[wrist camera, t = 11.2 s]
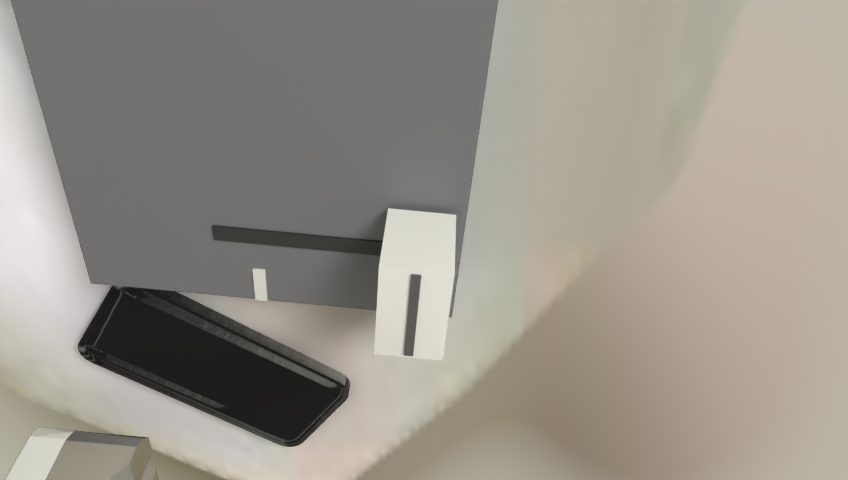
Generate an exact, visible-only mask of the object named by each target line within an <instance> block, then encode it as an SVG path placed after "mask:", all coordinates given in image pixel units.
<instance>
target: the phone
mask: <svg viewBox="0 0 848 480" xmlns="http://www.w3.org/2000/svg"><path fill="white" fill-rule="evenodd" d="M78 349H79V352H80V354H81V355H82V356H83V357H84V358H85V359H87V360H88V361H90V362H92V363H94V364H97V365H99V366H101V367H104V368H106V369H108V370H110V371H113V372H115V373H117V374H120V375H122V376H124V377H126V378H129V379H131V380H133V381H135V382H138V383H140V384H142V385H145V386H147V387H149V388H151V389H154V390H156V391H158V392H161V393H163V394H165V395H167V396H170V397H172V398H174V399H177V400H179V401H181V402H183V403H186V404H188V405H190V406H192V407H195V408H197V409H199V410H202V411H204V412H206V413H208V414H211V415H213V416H215V417H217V418H220V419H222V420H224V421H227V422H229V423H231V424H233V425H236V426H238V427H240V428H243V429H245V430H247V431H249V432H252V433H254V434H256V435H258V436H261V437H263V438H265V439H268V440H270V441H272V442H274V443H277V444H279V445H282V446H287V447H293V446H298V445H300V444H301V443H303V442H304V441H305V440H306V439H307V438H308V437H309V436H310V435H311V434H312V433H313V432H314V431H315V430H316V429H317V428H318V427H319V426H320V425H321V424H322V423H323V422H324V421H325V420H326V419H327V418H328V417H329V416H330V415H331V414H332V413H333V412H334V411H335V410H336V409H337V408H338V407H339V406H341V405H342V404H343V403H344V402H345V401H346V399H347V398H348V394H349V388H350V382H349V380H348V378H347V377H346V376H345V375H343V374H341V373H340V372H338V371H335V370H333V369H331V368H329V367H327V366H325V365H323V364H321V363H319V362H317V361H315V360H313V359H311V358H309V357H307V356H305V355H303V354H301V353H299V352H297V351H295V350H293V349H291V348H289V347H287V346H285V345H283V344H281V343H279V342H277V341H275V340H273V339H271V338H269V337H267V336H265V335H263V334H260V333H258V332H256V331H254V330H252V329H250V328H248V327H246V326H244V325H242V324H240V323H238V322H236V321H234V320H232V319H230V318H228V317H226V316H224V315H222V314H220V313H218V312H216V311H214V310H212V309H210V308H208V307H206V306H204V305H202V304H200V303H198V302H196V301H194V300H192V299H190V298H188V297H185V296H183V295H181V294H179V293H177V292H175V291H168V290H158V289H147V288H137V287H126V286H115V285H112V287H111V289H110V291H109V292H108V294H107V296H106V297H105V299H104V301H103V303H102V304H101V306H100V308H99V309H98V311H97V313H96V315H95V316H94V318H93V320H92V322H91V323H90V325H89V327H88V328H87V330H86V332H85V334H84V335H83V337H82V339H81V340H80V342H79V345H78Z"/></svg>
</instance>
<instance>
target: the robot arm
mask: <svg viewBox="0 0 848 480" xmlns="http://www.w3.org/2000/svg"><path fill="white" fill-rule="evenodd" d="M151 453H152V448H151V445H150V441H149V438H147V437H136V436H126V435H115V434H103V433H93V432H82V431H77V430H66V429H53V428H41V427H39V428H38V429H37V430H36V431H35V432H34V433H33V434H32V435H31V436H30V437H29V438H28V439H27V441H26V443H25V445H24V447H23V448H22V450H21V452H20V453H19V455H18V457H17V459H16V460H15V462H14V464H13V466H12V468H11V469H10V471H9V473H8V475H7V476H6V478H5V480H158V474H157V469H156V468H155V467H153V466H152V465H151V464H150V463H148V461H149V458H150V456H151Z"/></svg>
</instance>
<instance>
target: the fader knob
mask: <svg viewBox="0 0 848 480" xmlns="http://www.w3.org/2000/svg"><path fill="white" fill-rule="evenodd" d="M455 245H456V215H454V214H443V213H433V212H422V211H412V210H401V209H391V208H388V212H387V218H386V225H385V231H384V237H383V244H382V250H381V256H380V262H379V272H378V291H377V309H376V328H375V347H374V354H379V355H390V356H400V357H411V358H421V359H432V360H443V353H444V346H445V339H446V332H447V325H448V318H449V311H450V304H451V297H452V290H453V283H454V276H455Z"/></svg>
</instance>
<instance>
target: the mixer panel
mask: <svg viewBox="0 0 848 480" xmlns="http://www.w3.org/2000/svg"><path fill="white" fill-rule="evenodd" d="M11 3H12V6H13V10H14V13H15V17H16V20H17V24H18V27H19V31H20V34H21V38H22V41H23V45H24V48H25V52H26V56H27V59H28V63H29V66H30V70H31V73H32V77H33V80H34V84H35V87H36V91H37V94H38V98H39V101H40V105H41V108H42V112H43V116H44V119H45V123H46V126H47V130H48V133H49V137H50V140H51V144H52V147H53V151H54V154H55V158H56V161H57V165H58V168H59V172H60V176H61V179H62V183H63V186H64V190H65V193H66V197H67V200H68V204H69V207H70V211H71V214H72V218H73V221H74V225H75V228H76V232H77V235H78V239H79V243H80V246H81V250H82V253H83V257H84V260H85V264H86V267H87V271H88V274H89V278H90V281H91V283H94V284H105V285H115V286H126V287H137V288H147V289H158V290H168V291H179V292H189V293H200V294H211V295H221V296H232V297H242V298H253V299H255V300H259V301H268V300H274V301H285V302H295V303H306V304H316V305H327V306H338V307H348V308H359V309H369V310H376V309H377V291H378V272H379V262H380V256H381V250H382V244H383V237H384V231H385V225H386V218H387V212H388V208H391V209H401V210H412V211H422V212H433V213H443V214H454V215H456V245H455V276H454V283H453V290H452V297H451V304H450V311H449V317H452V312H453V305H454V298H455V292H456V285H457V278H458V271H459V264H460V257H461V251H462V244H463V237H464V230H465V223H466V217H467V210H468V203H469V196H470V189H471V182H472V176H473V169H474V162H475V155H476V148H477V141H478V135H479V128H480V121H481V114H482V107H483V100H484V94H485V87H486V80H487V73H488V66H489V59H490V53H491V46H492V39H493V32H494V25H495V18H496V12H497V5H498V0H11Z"/></svg>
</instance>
